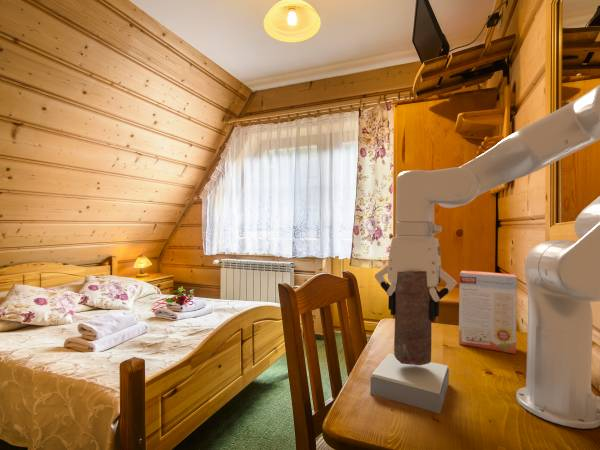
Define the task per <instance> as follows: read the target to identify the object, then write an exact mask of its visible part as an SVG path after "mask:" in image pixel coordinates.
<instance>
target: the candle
mask: <svg viewBox="0 0 600 450" xmlns="http://www.w3.org/2000/svg"><path fill="white" fill-rule="evenodd" d="M431 300H432V296H431V294H430V288H428V287H427V272H426V271H418V272H397V284H396V292H395V315H394V332H393V333H394V339H393V354H394V356H395V358H396V359H397V360H398V361H399V362H400V363H402V364H410V365H412V364H413V365H425V364H429V363H430V362H432V321H431V320H430V301H431Z"/></svg>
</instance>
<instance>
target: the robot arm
mask: <svg viewBox="0 0 600 450" xmlns="http://www.w3.org/2000/svg"><path fill="white" fill-rule="evenodd" d="M598 141H600V84H599V85H597V86H596V87H594V88H592V89H591V90H589V91H588V92H586V93H585V94H584V95H581V96H580V97H578V98H576V99H575V100H573V101H571V102H568V103H567V104H565V105H563V106H562V107H560V108H558V109H556V110H555V111H552V112H551V113H549V114H547V115H545V116H544V117H541V118H539V119H538V120H535V121H534V122H532V123H530V124H528V125H526V126H524V127H521V128H520V129H518V130H516V131H514V132H513V133H511V134H509V135H508V136H507V137H505V138H503V139H502V140H501V141H499V142H498V143H497V144H495V145H494V146H493V147H491V148H490V149H488V150H487V151H485V152H484V153H482V154H480V155H479V156H476V157H474V158H473V159H471V160H470V161H468V162H466V163H464V164H462V165H461V166H459V167H457V166H456V167H450V168H449V167H447V168H443V169H442V168H441V169H436V170H423V169H412V170H405V171H402V172H400V173H398V174H397V176H396V178H395V179H396V181H395V182H396V183H395V184H396V186H395V187H396V188H395V236H392V238H391V242H390V248H389V253H388V254H389V255H388V260H387V261H388V262H387V266H385V267H384V268H382V269H381V270H379V271H378V272H376V273H375V274H374V278H375V280H376V281H377V282H378V283H379V285H380V287H381V288H382V289H383V290H384V291H385V292H386V295H387V296H388V299H387V300H388V304H387V305H388V310H390V315H391V316H395V292H396V284H397V272H418V271H426V272H427V287H428V288H430V294H431V296H432V300H431V301H430V320H431V322H435V321H436V320H437V318H438V317H439V316H440V301H441V299H443V298H444V297H446V296H447V295H448V294H449V293H450V291H452V290H453V289H454V288H455V287H456V285H457V284H458V282H457V280H455V278H453V277H452V275H450V274H449V273H447V272H446V271H444V269H443V268H442V261H441V260H442V259H441V256H442V255H441V248H440V243H439V242H440V241H439V238H438V237H435V235H436V234H438V233H442V230H443V227H442V225H436V223H435V205H436V204H437V205H438V206H440V207H442V208H446V209H453V208H458V207H462V206H465V205H467V204H470V203H471V202H472V201H474V200H475V199H476V198H477V197H478V196H480V195H482V194H484V193H487V192H488V191H490V190H493V189H495V188H497V187H499V186H502V185H504V184H507V183H509V182H512V181H515V180H518V179H521V178H524V177H526V176H529V175H531V174H533V173H535V172H538V171H541V170H543V169H544V168H546V167H548V166H550V165H552V164H554V163H556V162H558V161H560V160H562V159H564V158H566V157H568V156H570V155H573V154H574V153H576V152H578V151H581V150H582V149H585V148H586V147H588V146H590V145H592V144H595V143H596V142H598ZM573 227H574V232H575V235H576V237H578V240H577V241H574V240H562V239H553V240H547V241H542V242H541V243H538V244H537V245H536V246H534V247H532V249H531V250H530V251H529V252H528V254H527V255H526V258H525V261H524V276H525V284H526V293H527V294H526V295H527V332H526V333H527V334H526V335H527V336H526V339H527V340H526V372H525V373H526V376H525V378H526V379H525V381H526V382H525V384H526V385H525V386H523V387H521V388H519V389H518V390H516V394H515V395H516V401H517V403H518V404H519V405H520V406H522V408H523V409H525V410H527V411H528V412H529V413H531V414H533V415H534V416H536V417H538V418H541V419H544V420H545V421H548V422H551V423H554V424H557V425H561V426H564V427H569V428H575V429H584V430H585V429H594V428H595V429H596V428H598V427H600V396H597V395H596V394H595V393H594V392H593V391H592V363H593V361H592V359H593V358H592V357H593V356H592V355H593V354H592V353H593V332H594V330H593V327H594V325H593V323H594V320H593V310H592V306H591V305H592V304H591V303H596V302H597V303H598V302H600V195H599V196H598V197H597V198H596V199H594V200H593V201H591V203H590V204H588V205H587V206H586V207H584V208H583V209H582V211H581V212H580V213H579V214H578V215H577V217H576V218H575V221H574V226H573ZM386 275H387V280H386V278H385V276H386ZM442 280H443V281H444V282H445V283H446V285H445V286H444V287H443V288H442V289H440V290H439V289H438V285H440V284H441V282H442Z"/></svg>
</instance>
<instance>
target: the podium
mask: <svg viewBox="0 0 600 450" xmlns="http://www.w3.org/2000/svg"><path fill="white" fill-rule="evenodd" d="M449 376H450V368H449V365H447V364H446V365H445V364H442V363H438V362H432V361H431V362H430V363H429V364H425V365H413V364H412V365H410V364H402V363H400V362H399V361H398V360H397V359H396V358H395V356H394V353H390V352H389V353H388V354H387V355H386V356H385V357H384V358H383V360H382V361H381V362H380V363H379V365H377V367H376V368H375V369H374V370H373V372H372V373H371V375H370V387H369V388H370V390H369V391H370V395H374V396H376V397H377V396H378V397H379V398H380V397H381V398H384V399H387V400H391V401H394V402H399V403H402V404H404V405H408V406H412V407H416V408H417V409H418V408H419V409H422V410H426V411H428V412H433V413H436V414H439V415H440V414H441V412H442V408H443V405H444V403H445V402H444V401H445V398H446V394H447V391H448V387H449V385H450V384H449V381H450V377H449Z"/></svg>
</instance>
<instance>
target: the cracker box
mask: <svg viewBox="0 0 600 450" xmlns="http://www.w3.org/2000/svg"><path fill="white" fill-rule="evenodd" d="M517 288H518V277H517V275H516V274H514V273H501V272H489V271H476V270H475V271H473V270H461V271H460V272H459V292H458V293H459V299H458V300H459V304H458V306H459V307H458V308H459V309H458V344H459V345H463V346H469V347H474V348H475V347H476V348H480V349H487V350H491V351H498V352H502V353H508V354H513V355H514V354H516V353H517V312H518V311H517V302H518V301H517V300H518V295H517V294H518V289H517Z"/></svg>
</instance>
